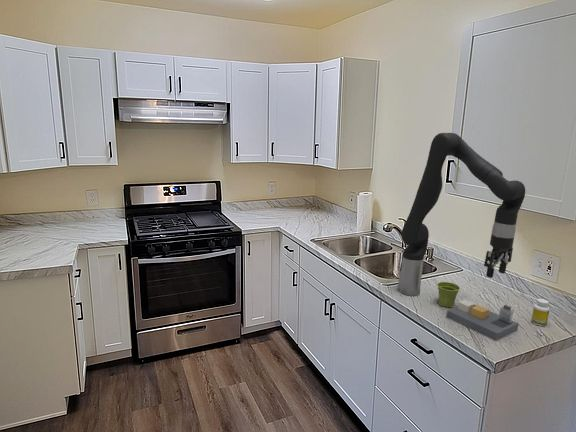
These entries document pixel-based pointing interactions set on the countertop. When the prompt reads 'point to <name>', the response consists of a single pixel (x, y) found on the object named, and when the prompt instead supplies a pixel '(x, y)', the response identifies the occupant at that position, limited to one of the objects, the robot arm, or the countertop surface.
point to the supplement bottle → (540, 312)
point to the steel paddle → (506, 314)
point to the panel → (484, 323)
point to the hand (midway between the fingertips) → (495, 275)
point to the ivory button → (466, 306)
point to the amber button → (480, 312)
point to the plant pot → (447, 293)
